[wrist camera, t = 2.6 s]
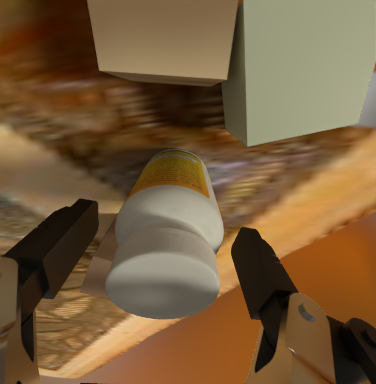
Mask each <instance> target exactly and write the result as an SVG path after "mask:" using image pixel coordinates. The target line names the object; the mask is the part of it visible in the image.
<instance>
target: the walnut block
mask: <svg viewBox="0 0 376 384" xmlns="http://www.w3.org/2000/svg"><path fill="white" fill-rule="evenodd" d="M117 216H118V214H117ZM117 216H116V217H115V219H114V221H113V222H112V224H111V226H110V228H109V229H108V231H107V233H106V235H105V236H104V238H103V240H102V242H101V243H100V245H99V247H98V248H97V250H96V252H95V254H94V255H93V258H92V260H91V263H90V266H89V268H88V271H87V274H86V276H85V279H84V282H83V284H82V287H81V290H80V292H82V293H86V294H90V295H95V296H99V297H103V298H107V299H110V298H109V296H108V294H107V292H106V288H105V281H106V277H107V274H108V272H109V269H110V267H111V264H112V262H113V259H114V256H115V253H116V251H117V248H118V247H119V246H118V244H117V241H116V236H115V223H116V219H117Z"/></svg>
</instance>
